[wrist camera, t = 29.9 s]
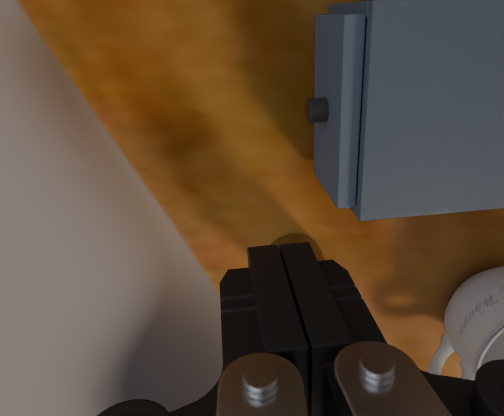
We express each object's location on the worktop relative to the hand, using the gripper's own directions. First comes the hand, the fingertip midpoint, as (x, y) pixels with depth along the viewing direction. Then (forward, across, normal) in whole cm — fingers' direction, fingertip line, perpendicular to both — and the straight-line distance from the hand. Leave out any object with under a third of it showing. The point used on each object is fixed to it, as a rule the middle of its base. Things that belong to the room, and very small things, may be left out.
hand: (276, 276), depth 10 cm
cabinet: (+23, -15, 0) cm, 27 cm away
